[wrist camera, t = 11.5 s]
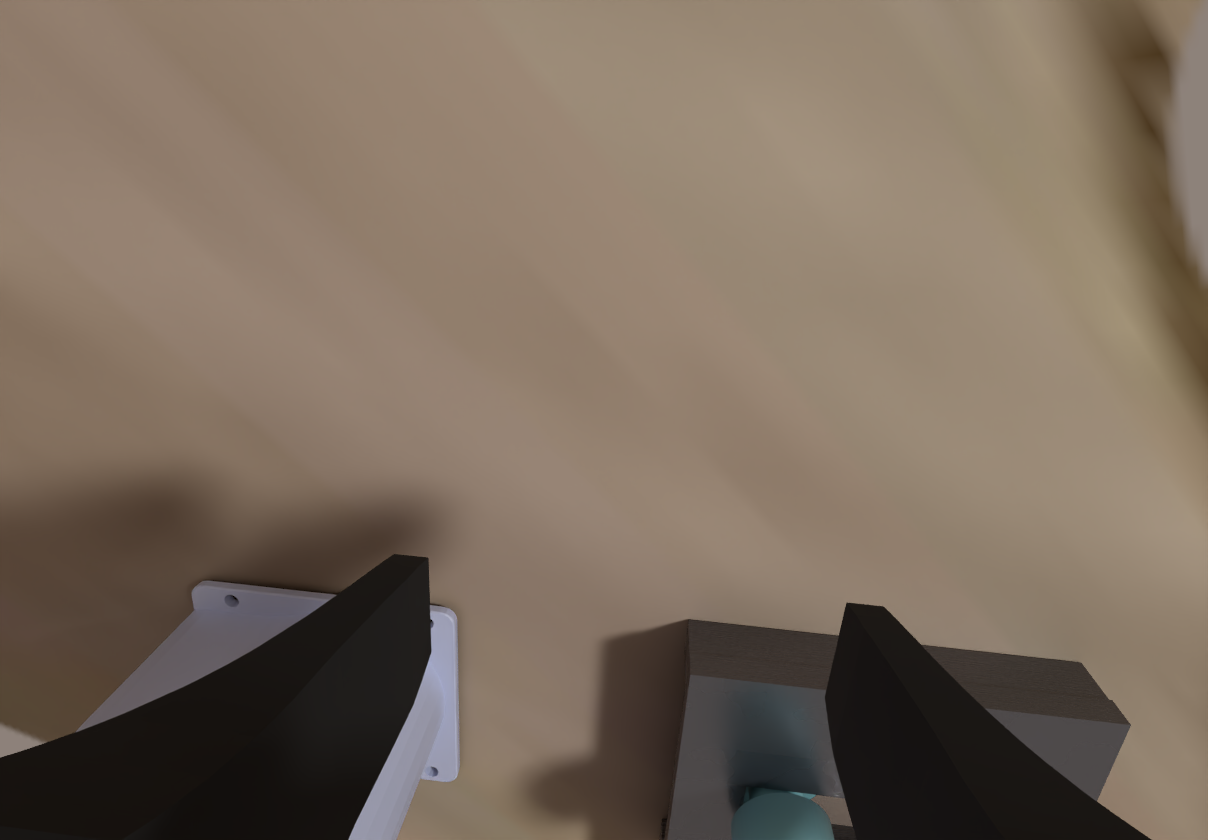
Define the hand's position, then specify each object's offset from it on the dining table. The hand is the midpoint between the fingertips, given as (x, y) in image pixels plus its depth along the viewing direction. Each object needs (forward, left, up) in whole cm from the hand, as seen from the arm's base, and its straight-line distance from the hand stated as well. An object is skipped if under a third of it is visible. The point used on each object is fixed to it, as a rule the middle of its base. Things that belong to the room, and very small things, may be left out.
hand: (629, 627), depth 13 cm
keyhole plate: (+8, -13, -10) cm, 19 cm away
